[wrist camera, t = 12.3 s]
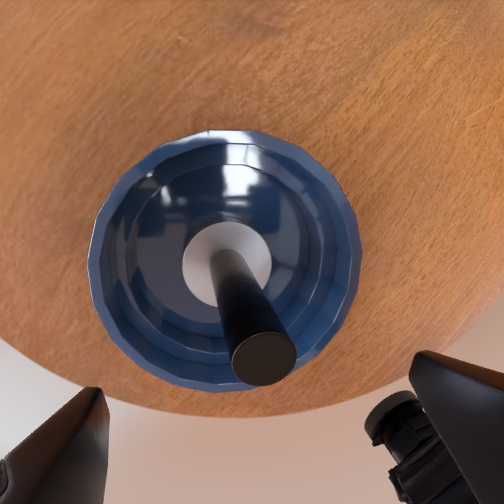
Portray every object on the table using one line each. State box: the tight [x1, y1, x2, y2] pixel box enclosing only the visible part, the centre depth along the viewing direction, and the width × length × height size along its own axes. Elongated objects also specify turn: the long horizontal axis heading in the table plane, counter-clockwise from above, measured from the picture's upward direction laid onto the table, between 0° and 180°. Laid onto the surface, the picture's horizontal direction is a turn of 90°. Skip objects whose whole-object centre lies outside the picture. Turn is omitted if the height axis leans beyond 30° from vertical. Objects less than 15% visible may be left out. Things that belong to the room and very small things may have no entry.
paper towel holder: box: [182, 216, 297, 386], centre depth 14 cm, size 5×5×11 cm
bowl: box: [87, 129, 362, 393], centre depth 18 cm, size 14×14×4 cm
